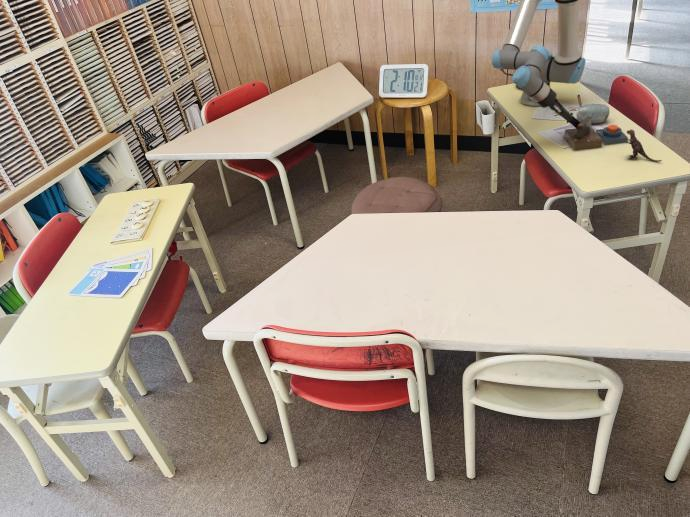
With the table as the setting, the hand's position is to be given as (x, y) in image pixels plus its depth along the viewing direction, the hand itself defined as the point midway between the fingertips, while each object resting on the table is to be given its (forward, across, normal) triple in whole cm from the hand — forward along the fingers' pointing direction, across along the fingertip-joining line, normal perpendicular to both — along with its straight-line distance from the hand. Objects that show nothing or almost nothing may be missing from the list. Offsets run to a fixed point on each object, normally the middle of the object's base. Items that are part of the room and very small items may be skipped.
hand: (580, 127), depth 229 cm
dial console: (+4, +3, -4) cm, 6 cm away
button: (+10, +3, +7) cm, 13 cm away
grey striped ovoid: (+11, -15, +3) cm, 19 cm away
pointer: (+2, +3, -1) cm, 4 cm away
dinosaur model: (+16, +24, +8) cm, 30 cm away
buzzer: (+13, +3, +5) cm, 14 cm away
